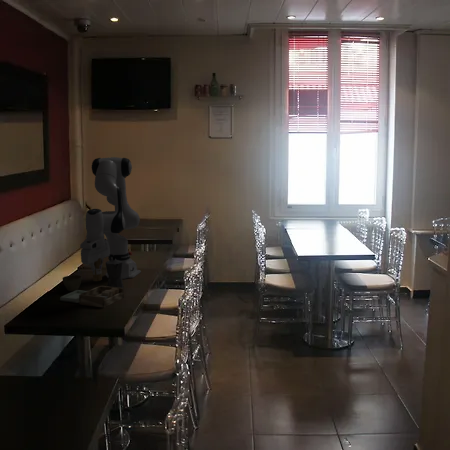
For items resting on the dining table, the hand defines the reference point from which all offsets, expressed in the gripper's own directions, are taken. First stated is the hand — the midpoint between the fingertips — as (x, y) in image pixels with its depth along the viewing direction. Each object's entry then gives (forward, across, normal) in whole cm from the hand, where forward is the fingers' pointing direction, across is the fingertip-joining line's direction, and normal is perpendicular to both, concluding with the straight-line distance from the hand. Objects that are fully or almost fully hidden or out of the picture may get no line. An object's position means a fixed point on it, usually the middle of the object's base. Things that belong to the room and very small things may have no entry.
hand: (96, 269), depth 278 cm
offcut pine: (+16, +2, +7) cm, 17 cm away
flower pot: (+16, -10, -23) cm, 30 cm away
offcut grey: (+16, +7, +7) cm, 19 cm away
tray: (+16, +2, -12) cm, 20 cm away
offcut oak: (+16, -4, +7) cm, 18 cm away
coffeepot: (+16, -20, -3) cm, 27 cm away
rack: (+16, +2, +3) cm, 16 cm away
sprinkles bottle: (+6, 0, 0) cm, 6 cm away
